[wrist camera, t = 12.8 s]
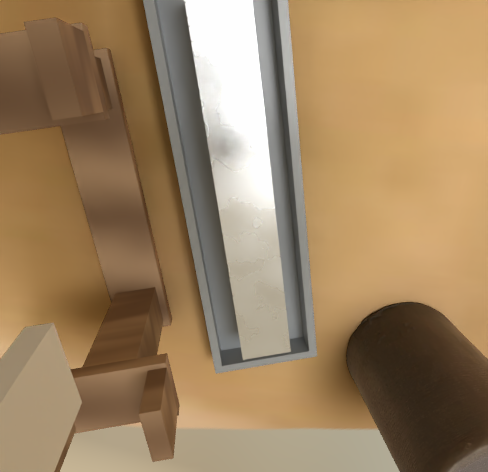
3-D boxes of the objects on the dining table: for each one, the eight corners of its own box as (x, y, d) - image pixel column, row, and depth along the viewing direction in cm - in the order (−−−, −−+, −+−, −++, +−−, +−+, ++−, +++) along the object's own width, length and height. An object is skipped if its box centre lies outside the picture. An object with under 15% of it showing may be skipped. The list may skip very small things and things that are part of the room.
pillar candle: (352, 303, 33) (456, 460, 19) (462, 300, 34) (639, 449, 20) (339, 394, 37) (420, 585, 23) (440, 390, 37) (577, 571, 24)
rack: (26, 61, 25) (-168, 28, 12) (130, 47, 25) (50, -1, 12) (106, 329, 32) (39, 489, 19) (187, 315, 32) (175, 465, 19)
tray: (141, -32, 24) (134, -45, 21) (275, -49, 24) (282, -64, 22) (215, 353, 34) (215, 373, 31) (309, 338, 34) (317, 356, 32)
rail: (185, 1, 24) (182, -13, 21) (243, -6, 24) (249, -22, 21) (239, 332, 33) (243, 359, 29) (282, 325, 33) (290, 351, 29)
